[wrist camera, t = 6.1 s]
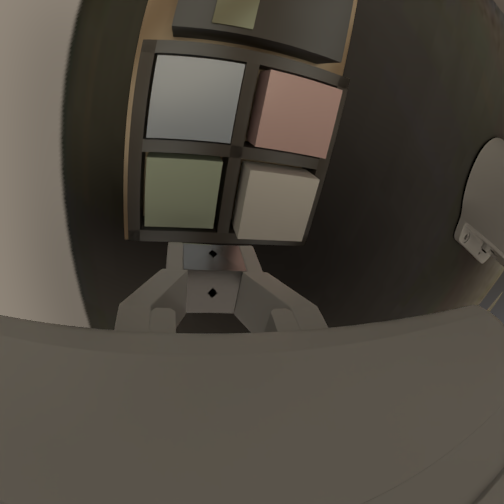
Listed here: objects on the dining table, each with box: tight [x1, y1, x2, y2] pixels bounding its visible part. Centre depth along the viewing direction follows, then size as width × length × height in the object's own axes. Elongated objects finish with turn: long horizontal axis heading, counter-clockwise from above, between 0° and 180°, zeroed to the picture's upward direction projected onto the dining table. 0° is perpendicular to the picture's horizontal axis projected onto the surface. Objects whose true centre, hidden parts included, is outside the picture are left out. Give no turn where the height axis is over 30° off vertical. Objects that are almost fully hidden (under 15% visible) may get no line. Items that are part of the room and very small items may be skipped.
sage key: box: [145, 152, 223, 229], centre depth 16 cm, size 4×4×2 cm
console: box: [123, 0, 357, 246], centre depth 14 cm, size 13×20×4 cm, turn 169°
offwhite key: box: [232, 161, 320, 242], centre depth 17 cm, size 4×4×2 cm
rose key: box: [246, 70, 343, 159], centre depth 14 cm, size 4×4×2 cm
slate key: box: [146, 55, 245, 143], centre depth 12 cm, size 4×4×2 cm
